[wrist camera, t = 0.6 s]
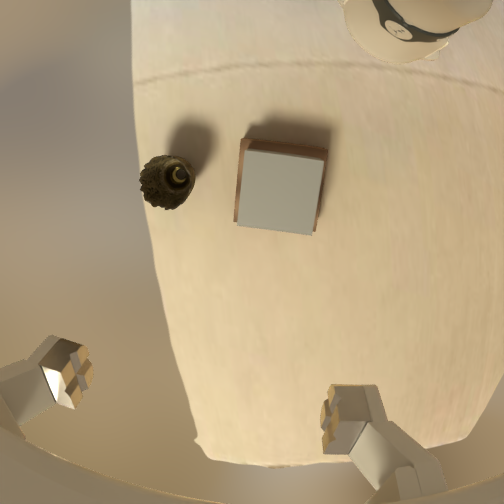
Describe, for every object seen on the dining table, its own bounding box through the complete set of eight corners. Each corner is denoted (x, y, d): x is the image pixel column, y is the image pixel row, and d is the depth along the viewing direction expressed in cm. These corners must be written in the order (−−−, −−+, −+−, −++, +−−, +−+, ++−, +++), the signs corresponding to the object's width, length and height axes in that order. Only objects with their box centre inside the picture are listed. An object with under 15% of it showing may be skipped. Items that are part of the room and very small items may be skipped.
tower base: (243, 138, 46) (240, 138, 42) (323, 147, 45) (327, 149, 41) (236, 214, 50) (233, 221, 46) (312, 223, 50) (315, 231, 46)
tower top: (247, 148, 42) (244, 150, 39) (319, 158, 42) (324, 161, 38) (240, 217, 46) (237, 225, 42) (308, 226, 46) (311, 235, 42)
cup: (153, 188, 49) (133, 200, 42) (165, 145, 46) (145, 149, 39) (196, 203, 49) (182, 217, 42) (210, 159, 47) (197, 165, 39)
